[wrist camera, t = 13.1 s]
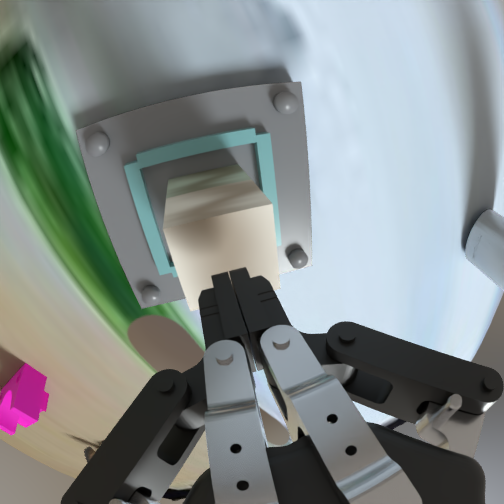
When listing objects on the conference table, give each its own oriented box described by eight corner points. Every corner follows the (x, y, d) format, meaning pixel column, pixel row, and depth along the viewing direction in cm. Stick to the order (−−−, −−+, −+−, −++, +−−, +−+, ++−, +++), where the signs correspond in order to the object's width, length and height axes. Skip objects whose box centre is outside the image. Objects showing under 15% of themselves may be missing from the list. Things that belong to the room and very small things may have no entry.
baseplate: (293, 82, 18) (305, 81, 16) (305, 257, 27) (315, 270, 25) (82, 128, 16) (71, 132, 14) (142, 297, 25) (141, 314, 23)
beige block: (237, 164, 19) (272, 203, 13) (247, 225, 22) (280, 288, 15) (168, 179, 18) (162, 229, 12) (184, 240, 21) (190, 311, 15)
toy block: (29, 407, 31) (23, 441, 24) (1, 389, 27) (-8, 424, 21) (61, 384, 29) (54, 429, 23) (25, 361, 26) (13, 406, 19)
